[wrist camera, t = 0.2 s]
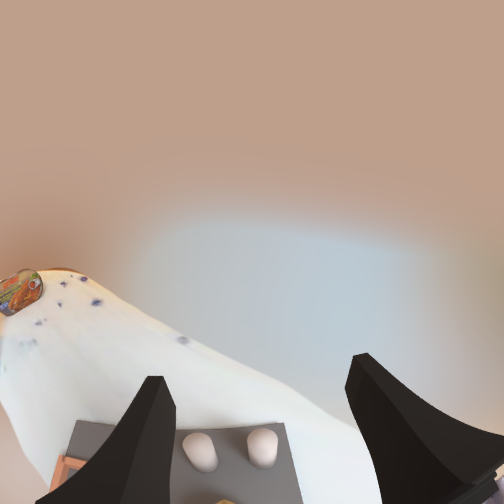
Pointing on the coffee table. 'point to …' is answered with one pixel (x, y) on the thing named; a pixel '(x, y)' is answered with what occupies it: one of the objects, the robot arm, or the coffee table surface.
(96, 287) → the coffee table surface
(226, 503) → the brass nut
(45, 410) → the coffee table surface
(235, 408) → the coffee table surface
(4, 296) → the tin
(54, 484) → the parts bay
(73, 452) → the plate
